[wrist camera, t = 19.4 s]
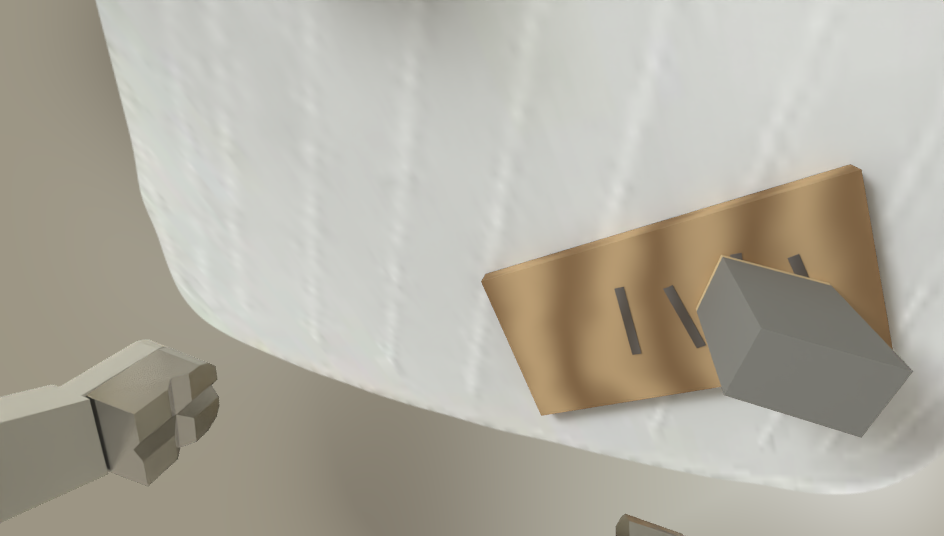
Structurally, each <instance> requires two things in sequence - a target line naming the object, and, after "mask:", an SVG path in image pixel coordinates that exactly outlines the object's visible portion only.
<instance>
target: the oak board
mask: <svg viewBox="0 0 944 536" xmlns="http://www.w3.org/2000/svg"><path fill="white" fill-rule="evenodd" d="M721 255H725V256H728V257H732V258H736V259H740V260H744V261H747V262H751V263H755V264H759V265H763V266H766V267H770V268H774V269H778V270H782V271H785V272H789V273H793V274H797V275H801V276H804V277H808V278H812V279H816V280H820V281H823V282H827V283H830V285H831V286H832V287H833V288H834V289H835V290H836V291H837V292H838V293H839V294H840V295H841V296H842V297H843V298H844V299H845V300H846V301H847V302H848V303H849V305H850V306H851V307H852V308H853V309H854V310H855V311H856V312H857V313H858V314H859V315H860V316H861V317H862V318H863V319H864V320H865V321H866V322H867V323H868V325H869V326H870V327H871V328H872V329H873V330H874V331H875V332H876V333H877V334H878V335H879V336H880V337H881V338H882V339H883V340H884V341H885V342H886V343H887V345H888V346H889V347H890V348H891V349H892V350H893V348H892V342H891V337H890V331H889V325H888V319H887V314H886V308H885V302H884V296H883V291H882V285H881V279H880V273H879V268H878V262H877V256H876V250H875V245H874V239H873V233H872V227H871V222H870V216H869V210H868V204H867V199H866V193H865V187H864V181H863V176H862V170H861V169H859V168H857V167H855V166H853V165H851V164H850V165H847V166H844V167H840V168H837V169H834V170H830V171H827V172H824V173H820V174H817V175H814V176H810V177H807V178H804V179H800V180H797V181H794V182H790V183H787V184H784V185H780V186H777V187H774V188H770V189H767V190H764V191H760V192H757V193H754V194H750V195H747V196H744V197H740V198H737V199H734V200H730V201H727V202H724V203H720V204H717V205H714V206H710V207H707V208H704V209H701V210H697V211H694V212H691V213H687V214H684V215H681V216H677V217H674V218H671V219H667V220H664V221H661V222H657V223H654V224H651V225H647V226H644V227H641V228H637V229H634V230H631V231H627V232H624V233H621V234H617V235H614V236H611V237H607V238H604V239H601V240H597V241H594V242H591V243H587V244H584V245H581V246H577V247H574V248H571V249H567V250H564V251H561V252H557V253H554V254H551V255H547V256H544V257H541V258H537V259H534V260H531V261H528V262H524V263H521V264H518V265H514V266H511V267H508V268H504V269H501V270H498V271H494V272H491V273H488V274H485V276H484V278H483V279H482V281H481V282H482V285H483V287H484V289H485V291H486V293H487V296H488V298H489V300H490V302H491V305H492V307H493V309H494V311H495V313H496V316H497V318H498V320H499V322H500V325H501V327H502V329H503V331H504V334H505V336H506V338H507V340H508V342H509V345H510V347H511V349H512V351H513V354H514V356H515V358H516V360H517V363H518V365H519V367H520V369H521V371H522V374H523V376H524V378H525V380H526V383H527V385H528V387H529V389H530V391H531V394H532V396H533V398H534V400H535V403H536V405H537V407H538V409H539V412H540V414H541V416H542V415H548V414H554V413H561V412H567V411H573V410H579V409H586V408H592V407H598V406H604V405H610V404H617V403H623V402H629V401H635V400H642V399H648V398H654V397H660V396H666V395H673V394H679V393H685V392H691V391H698V390H704V389H710V388H716V387H721V384H720V381H719V378H718V375H717V372H716V369H715V366H714V363H713V360H712V357H711V354H710V351H709V348H708V345H707V342H706V339H705V335H704V332H703V329H702V326H701V323H700V320H699V317H698V314H697V311H696V307H697V305H698V303H699V301H700V299H701V297H702V294H703V292H704V290H705V288H706V286H707V284H708V282H709V280H710V277H711V275H712V273H713V271H714V269H715V267H716V265H717V263H718V261H719V258H720V256H721Z"/></svg>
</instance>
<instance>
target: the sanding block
mask: <svg viewBox="0 0 944 536" xmlns="http://www.w3.org/2000/svg"><path fill="white" fill-rule="evenodd" d="M696 311H697V314H698V317H699V320H700V323H701V326H702V329H703V332H704V335H705V339H706V342H707V345H708V348H709V351H710V354H711V357H712V360H713V363H714V366H715V369H716V372H717V375H718V378H719V381H720V384H721V387H722V390H723V393H724V395H725V396H729V397H732V398H735V399H738V400H742V401H745V402H748V403H751V404H755V405H758V406H761V407H764V408H767V409H771V410H774V411H777V412H780V413H784V414H787V415H790V416H793V417H797V418H800V419H803V420H806V421H810V422H813V423H816V424H819V425H823V426H826V427H829V428H832V429H835V430H839V431H842V432H845V433H848V434H852V435H855V436H858V437H862V436H863V435H864V434H865V432H866V431H867V430H868V428H869V427H870V426H871V425H872V423H873V422H874V421H875V419H876V418H877V417H878V416H879V414H880V413H881V412H882V410H883V409H884V408H885V407H886V405H887V404H888V403H889V401H890V400H891V399H892V398H893V396H894V395H895V394H896V392H897V391H898V390H899V389H900V387H901V386H902V385H903V383H904V382H905V381H906V380H907V378H908V377H909V376H910V374H911V373H912V372H913V371H912V370H911V369H910V368H909V367H908V366H907V365H906V363H905V362H904V361H903V360H902V359H901V358H900V357H899V356H898V355H897V354H896V353H895V352H894V351H893V350H892V349H891V348H890V347H889V346H888V345H887V343H886V342H885V341H884V340H883V339H882V338H881V337H880V336H879V335H878V334H877V333H876V332H875V331H874V330H873V329H872V328H871V327H870V326H869V325H868V323H867V322H866V321H865V320H864V319H863V318H862V317H861V316H860V315H859V314H858V313H857V312H856V311H855V310H854V309H853V308H852V307H851V306H850V305H849V303H848V302H847V301H846V300H845V299H844V298H843V297H842V296H841V295H840V294H839V293H838V292H837V291H836V290H835V289H834V288H833V287H832V286H831V285H830V283H827V282H823V281H820V280H816V279H812V278H808V277H804V276H801V275H797V274H793V273H789V272H785V271H782V270H778V269H774V268H770V267H766V266H763V265H759V264H755V263H751V262H747V261H744V260H740V259H736V258H732V257H728V256H725V255H721V256H720V258H719V261H718V263H717V265H716V267H715V269H714V271H713V273H712V275H711V277H710V280H709V282H708V284H707V286H706V288H705V290H704V292H703V294H702V297H701V299H700V301H699V303H698V305H697V307H696Z"/></svg>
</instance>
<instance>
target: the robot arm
mask: <svg viewBox="0 0 944 536" xmlns="http://www.w3.org/2000/svg"><path fill="white" fill-rule="evenodd" d="M216 380H217V373H216V367H215V366H214V365H212V364H210V363H207V362H205V361H202V360H200V359H197V358H195V357H192V356H190V355H187V354H185V353H182V352H180V351H177V350H175V349H172V348H170V347H167V346H164V345H161V344H159V343H156V342H154V341H151V340H148V339H146V340H140V341H136V342H134V343H133V344H131V345H129V346H128V347H126V348H124V349H123V350H121V351H119V352H117V353H116V354H114V355H112V356H111V357H109V358H107V359H106V360H104V361H102V362H100V363H99V364H97V365H95V366H94V367H92V368H90V369H89V370H87V371H85V372H84V373H82V374H80V375H79V376H77V377H75V378H73V379H72V380H70V381H68V382H67V383H65V384H63V385H62V386H60V387H59V386H56V385H48V386H44V387H40V388H35V389H31V390H27V391H23V392H18V393H14V394H10V395H6V396H2V397H0V523H1V522H4V521H6V520H8V519H10V518H12V517H15V516H17V515H19V514H21V513H23V512H26V511H28V510H30V509H32V508H34V507H37V506H39V505H41V504H43V503H46V502H48V501H50V500H52V499H54V498H57V497H59V496H61V495H63V494H66V493H68V492H70V491H72V490H74V489H77V488H79V487H81V486H83V485H85V484H88V483H90V482H92V481H94V480H97V479H99V478H101V477H103V476H105V475H107V474H108V471H109V472H111V473H114V474H116V475H119V476H122V477H124V478H127V479H130V480H132V481H135V482H137V483H140V484H142V485H145V486H149V485H150V484H151V483H152V482H154V481H155V480H156V479H157V478H158V477H159V476H160V475H161V474H162V473H163V472H164V471H165V470H167V469H168V468H169V467H170V466H171V465H172V464H173V463H174V462H175V461H176V460H177V459H178V456H179V451H180V447H183V446H186V445H189V444H192V443H195V442H197V441H198V440H199V439H200V438H201V437H202V436H203V435H204V434H205V433H206V432H207V431H208V430H209V428H210V427H211V425H212V423H213V422H214V420H215V419H216V417H217V413H218V409H219V396H218V395H217V393H216V391H215V390H214V389H213V387H212V384H213V383H214V382H215V381H216ZM616 536H684V535H683V534H681V533H678V532H676V531H673V530H670V529H667V528H664V527H661V526H658V525H656V524H652V523H650V522H647V521H644V520H641V519H638V518H636V517H633V516H630V515H627V514H624V515H623V516H622V517H621V518H620V520H619V522H618V523H617V525H616Z"/></svg>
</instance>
